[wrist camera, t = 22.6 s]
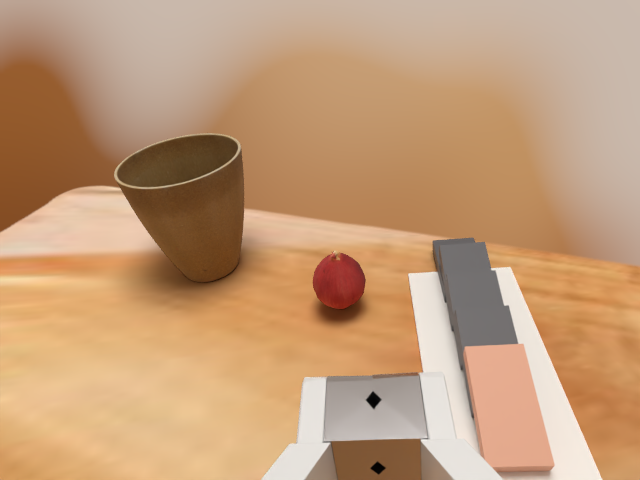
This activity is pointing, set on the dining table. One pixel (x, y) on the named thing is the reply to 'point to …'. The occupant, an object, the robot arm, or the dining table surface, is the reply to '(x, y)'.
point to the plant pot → (190, 200)
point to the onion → (338, 281)
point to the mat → (560, 423)
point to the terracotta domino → (506, 409)
